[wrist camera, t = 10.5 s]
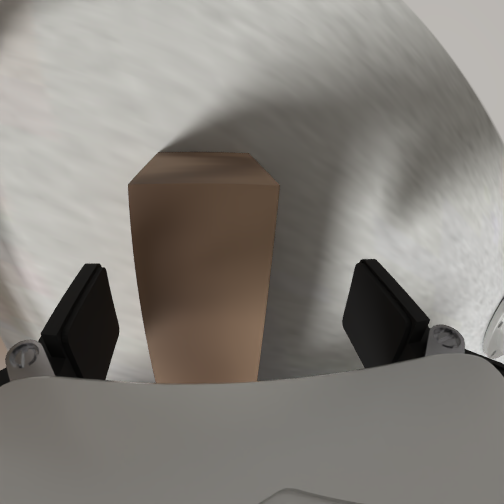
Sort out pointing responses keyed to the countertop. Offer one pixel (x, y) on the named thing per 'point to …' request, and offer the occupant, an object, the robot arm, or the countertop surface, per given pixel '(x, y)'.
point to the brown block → (203, 263)
